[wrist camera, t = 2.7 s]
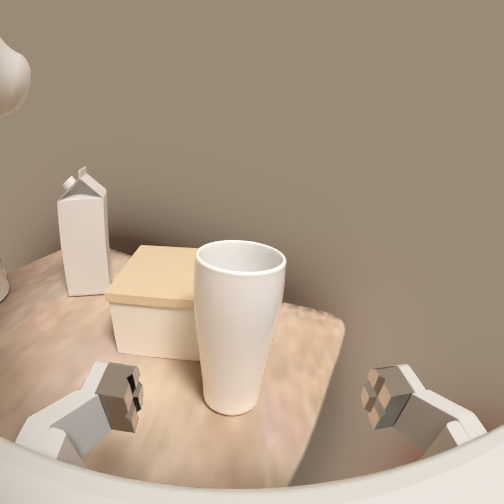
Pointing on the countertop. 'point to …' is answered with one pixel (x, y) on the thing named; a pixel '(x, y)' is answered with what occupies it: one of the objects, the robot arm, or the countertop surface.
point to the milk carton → (84, 236)
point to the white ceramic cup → (236, 319)
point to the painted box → (155, 304)
